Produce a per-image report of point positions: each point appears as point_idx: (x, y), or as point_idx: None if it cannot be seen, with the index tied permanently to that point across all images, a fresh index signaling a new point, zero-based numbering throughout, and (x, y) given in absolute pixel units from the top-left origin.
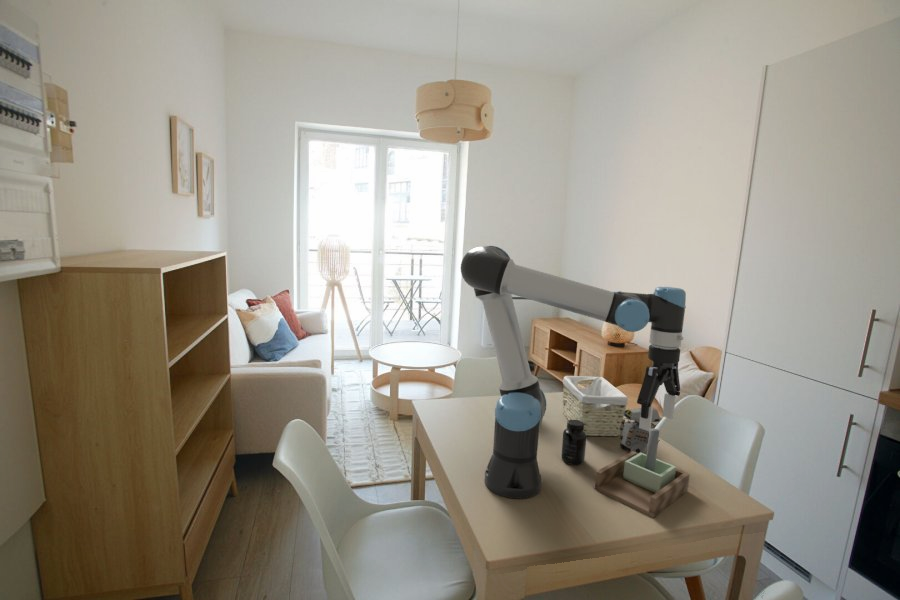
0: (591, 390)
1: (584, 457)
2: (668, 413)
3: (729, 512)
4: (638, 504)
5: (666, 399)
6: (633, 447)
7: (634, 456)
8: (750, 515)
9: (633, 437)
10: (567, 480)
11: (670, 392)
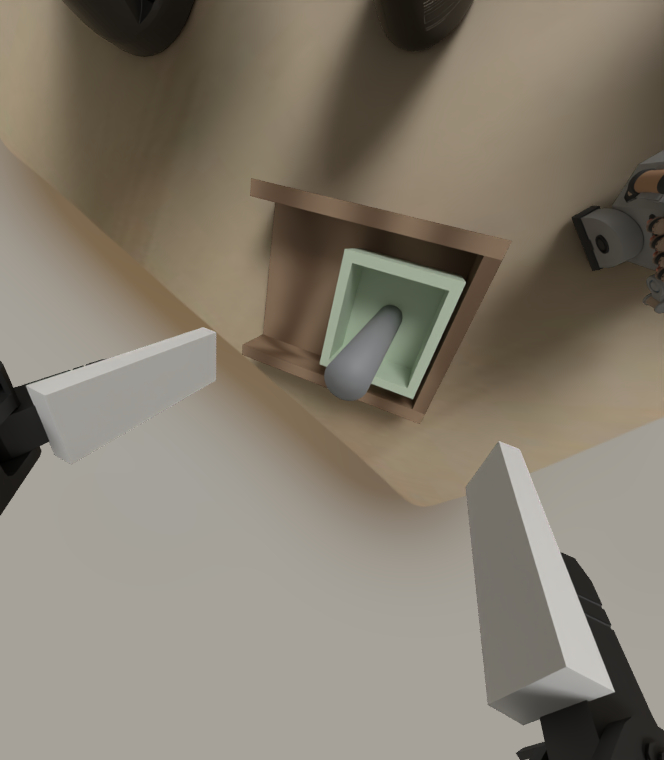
0: None
1: (424, 36)
2: (483, 493)
3: (380, 459)
4: (272, 311)
5: (521, 593)
6: (602, 222)
7: (408, 269)
8: (392, 487)
9: (655, 206)
10: (268, 84)
11: (578, 757)
